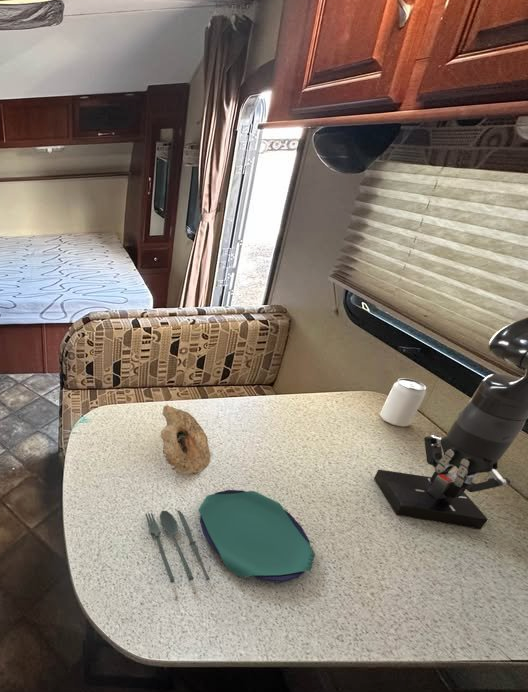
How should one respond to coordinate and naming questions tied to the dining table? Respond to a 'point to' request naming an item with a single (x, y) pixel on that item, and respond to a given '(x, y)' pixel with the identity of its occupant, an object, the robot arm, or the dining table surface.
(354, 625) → the dining table surface
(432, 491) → the stove knob
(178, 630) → the dining table surface
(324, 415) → the dining table surface
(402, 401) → the can
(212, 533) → the cutlery set
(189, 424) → the brown hollow rock
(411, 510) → the stove
